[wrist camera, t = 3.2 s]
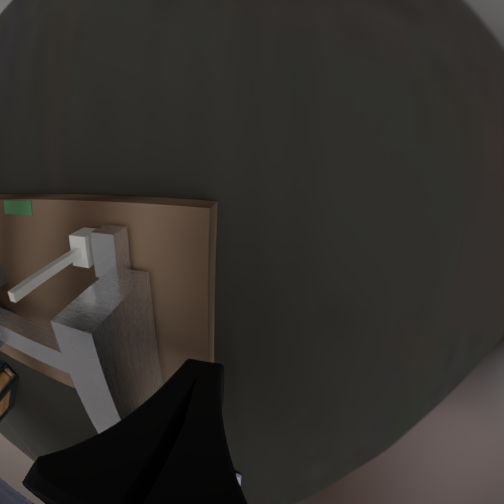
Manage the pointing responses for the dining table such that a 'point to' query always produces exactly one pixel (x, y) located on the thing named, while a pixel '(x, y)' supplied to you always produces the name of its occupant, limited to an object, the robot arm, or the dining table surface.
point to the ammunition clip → (7, 389)
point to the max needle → (59, 264)
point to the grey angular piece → (100, 335)
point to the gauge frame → (141, 259)
